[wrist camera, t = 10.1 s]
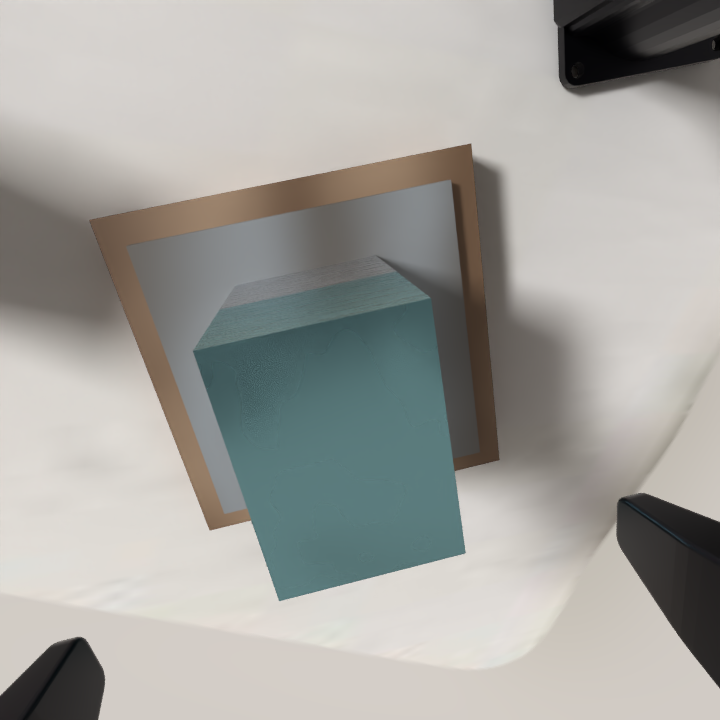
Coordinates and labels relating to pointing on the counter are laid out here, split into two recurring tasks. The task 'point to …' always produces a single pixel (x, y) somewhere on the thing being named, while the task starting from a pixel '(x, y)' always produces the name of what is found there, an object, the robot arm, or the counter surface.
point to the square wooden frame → (295, 254)
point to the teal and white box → (335, 423)
